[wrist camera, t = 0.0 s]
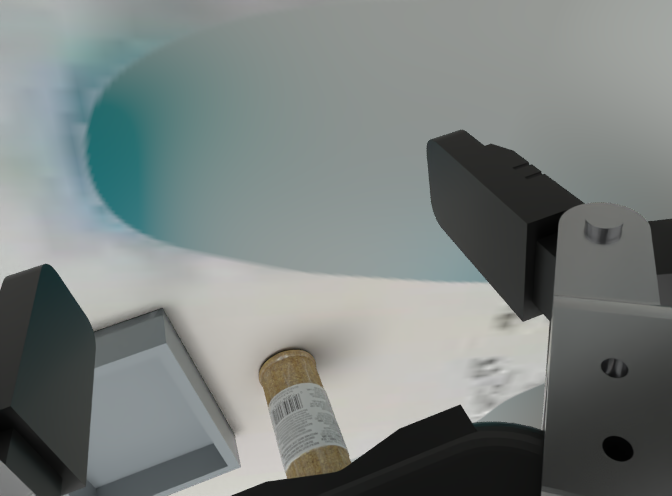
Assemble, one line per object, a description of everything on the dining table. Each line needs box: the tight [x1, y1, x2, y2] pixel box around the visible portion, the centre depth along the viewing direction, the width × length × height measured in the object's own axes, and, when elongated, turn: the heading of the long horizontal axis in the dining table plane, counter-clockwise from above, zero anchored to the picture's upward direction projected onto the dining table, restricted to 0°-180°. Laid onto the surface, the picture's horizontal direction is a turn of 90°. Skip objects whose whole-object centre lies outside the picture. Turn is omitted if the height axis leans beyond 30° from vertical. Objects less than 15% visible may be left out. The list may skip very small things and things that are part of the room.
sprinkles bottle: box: [259, 350, 351, 479], centre depth 37 cm, size 5×5×13 cm
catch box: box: [63, 308, 241, 496], centre depth 38 cm, size 16×12×3 cm
